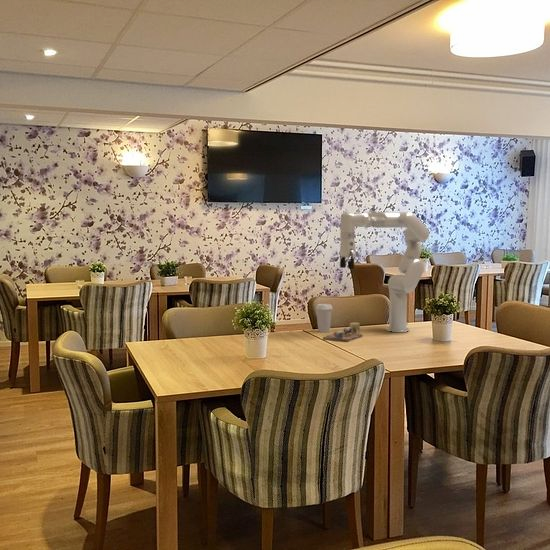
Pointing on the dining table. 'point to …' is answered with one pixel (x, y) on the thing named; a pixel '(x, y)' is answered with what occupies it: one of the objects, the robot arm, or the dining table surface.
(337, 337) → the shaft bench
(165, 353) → the dining table surface
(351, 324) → the coupler
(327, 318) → the coffee cup
